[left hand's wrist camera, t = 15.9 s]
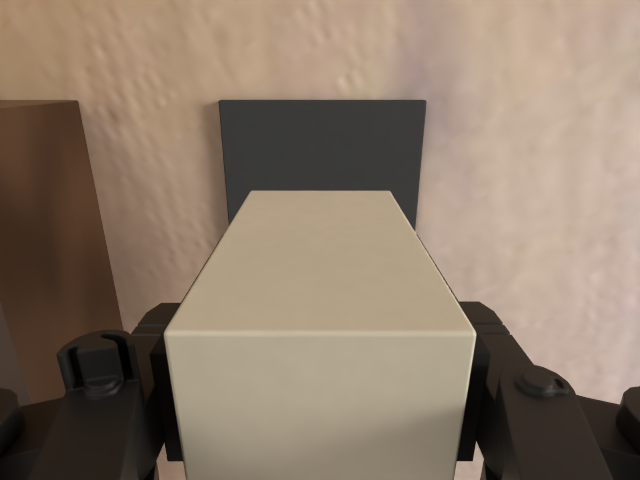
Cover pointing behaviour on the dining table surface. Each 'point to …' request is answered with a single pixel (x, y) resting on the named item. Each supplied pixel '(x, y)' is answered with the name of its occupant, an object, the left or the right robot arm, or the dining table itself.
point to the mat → (323, 148)
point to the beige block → (320, 347)
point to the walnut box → (48, 246)
